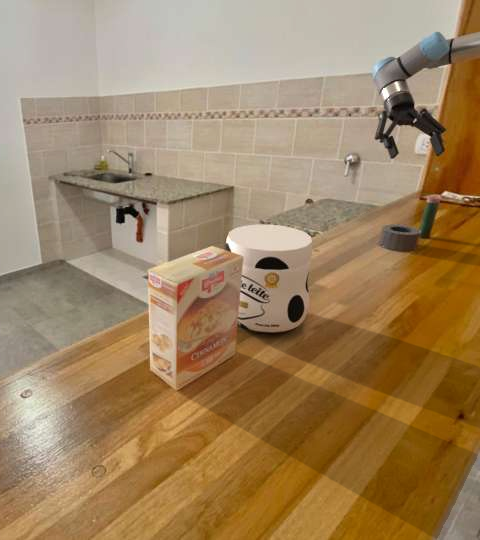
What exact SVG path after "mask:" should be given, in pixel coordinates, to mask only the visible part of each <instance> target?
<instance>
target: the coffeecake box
mask: <svg viewBox="0 0 480 540" xmlns="http://www.w3.org/2000/svg"><path fill="white" fill-rule="evenodd" d="M243 258H244V257H243V256H241V255H238V254H236V253H233V252H230V251H226V250H225V249H223V248H220V247H217V246H214V245H211V246H209V247H206V248H203V249H200V250H197V251H195V252H192V253H189V254H187V255H183V256H181V257H178V258H176V259H172V260H170V261H167V262H165V263H161V264H159V265H156V266H154V267H151V268H149V269H147V281H148V282H147V286H148V287H147V288H148V289H147V290H148V322H149V323H148V327H149V328H148V330H149V334H148V335H149V370H150V372H152V373H154V374H155V375H156V376H158V378H160V379H161V380H163V381H164V382H165V383H166V384H167V385H168V386H170V387H171V388H172V389H173V390H175V391H177V392H178V391H179V390H181V389H182V388H184V387H187V385H189V384H190V383H192V382H194V381H195V380H197V379H198V378H200V377H201V376H203V375H205V374H206V373H208V372H209V371H211V370H213V369H214V368H216V367H218V366H219V365H220V364H222V363H223V362H225V361H227V360H229V359H230V358H232V357H233V356H235V355H236V347H237V336H238V326H237V324H238V313H239V302H240V290H241V278H242V267H243Z"/></svg>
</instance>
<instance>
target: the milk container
mask: <svg viewBox="0 0 480 540" xmlns="http://www.w3.org/2000/svg"><path fill="white" fill-rule="evenodd" d="M224 250H226V251H230V252H233V253H236V254H238V255H241V256H243V257H244V258H243V267H242V278H241V290H240V302H239V313H238V324H237V328H240V329H242V330H245V331H249V332H253V333H256V334H270V335H274V334H280V333H287V332H289V331H292V330H295V329H297V328H298V327H299V326H300V325H301V324H302V323H303V322H304V321H305V318H306V316H307V314H308V311H309V307H310V292H309V286H308V282H309V281H308V279H309V273H310V269H311V265H312V260H311V259H312V255H313V241H312V236H311V235H309V234H308V233H307V232H305V231H303V230H300V229H297V228H295V227H290V226H285V225H277V224H247V225H243V226H238V227H235V228H233V229H232V230H229V232H228V234H227V237H226V242H225V249H224Z"/></svg>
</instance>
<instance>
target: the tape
mask: <svg viewBox="0 0 480 540" xmlns="http://www.w3.org/2000/svg"><path fill="white" fill-rule="evenodd" d="M420 234H421V230H419V228H417V227H415V226H411V225H407V224H406V225H405V224H386V225H383V226H381V230H380V235H379V239H378V246H380V247H381V248H383V249H386V250H390V251H396V252H413V251H415V250H417V248H418V245H419V241H420V239H421V238H420Z"/></svg>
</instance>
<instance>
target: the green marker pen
mask: <svg viewBox="0 0 480 540" xmlns="http://www.w3.org/2000/svg"><path fill="white" fill-rule="evenodd" d="M440 203H441V197H439V196H427V198H426V203H425V205H424V210H423V212H422V216H421V220H420V224H419V227H418V229H419V230H421V234H420V238H419V239H429V238H430V236H431V233H432V230H433V227H434V223H435V219H436V216H437V213H438V209H439V206H440Z"/></svg>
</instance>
